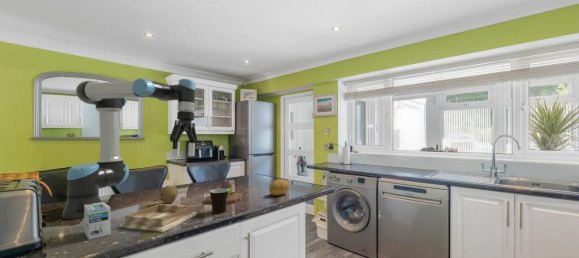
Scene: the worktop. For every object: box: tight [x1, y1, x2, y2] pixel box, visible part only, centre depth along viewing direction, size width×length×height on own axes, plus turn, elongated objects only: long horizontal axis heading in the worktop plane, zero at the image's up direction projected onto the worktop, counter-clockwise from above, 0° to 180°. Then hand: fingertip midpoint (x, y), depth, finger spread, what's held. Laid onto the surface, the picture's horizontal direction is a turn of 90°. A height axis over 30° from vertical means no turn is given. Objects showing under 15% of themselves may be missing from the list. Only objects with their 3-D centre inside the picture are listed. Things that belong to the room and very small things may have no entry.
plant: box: [204, 179, 243, 205], centre depth 145 cm, size 20×20×11 cm
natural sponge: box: [159, 184, 179, 205], centre depth 137 cm, size 9×9×10 cm
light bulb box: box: [83, 201, 111, 241], centre depth 97 cm, size 11×7×11 cm, turn 47°
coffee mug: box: [209, 188, 228, 214], centre depth 124 cm, size 12×9×10 cm
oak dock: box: [119, 203, 198, 233], centre depth 111 cm, size 21×21×4 cm
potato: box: [268, 178, 289, 197], centre depth 154 cm, size 10×13×9 cm
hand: (183, 156), depth 120 cm, fingers open, 13 cm apart
